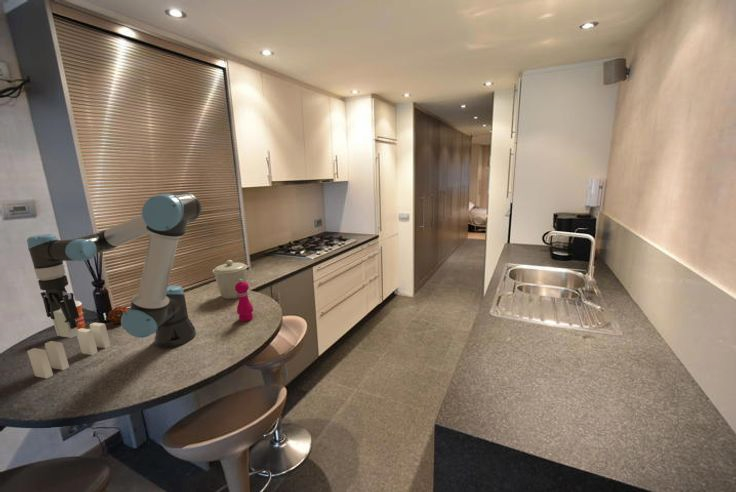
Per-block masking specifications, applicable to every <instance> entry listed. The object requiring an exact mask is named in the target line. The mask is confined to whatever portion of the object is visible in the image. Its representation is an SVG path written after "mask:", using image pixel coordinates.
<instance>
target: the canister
mask: <svg viewBox="0 0 736 492" xmlns="http://www.w3.org/2000/svg"><path fill="white" fill-rule="evenodd" d="M247 268H248V265H247V264H245V263H243V262H234V261H233V260H232V259H228V260H226V262H225V263H223V264H220V265H218V266H216V267H215V268H214V269H213V270H212V273H213V274H214V278H215V280H216V284H217V288H218V291H219V293H220V296H221V297H222V299H226V300H233V299H239V297H238V296H237V291H236V290H235V285H236V284H237V283H238V282H239V279H243V282H246V283H248V281H247V272H248V271H247Z"/></svg>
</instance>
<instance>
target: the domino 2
mask: <svg viewBox="0 0 736 492" xmlns="http://www.w3.org/2000/svg"><path fill="white" fill-rule="evenodd" d="M53 314H54V317H55V321H56V324H57V328H58V331H59V337H63V338H69V339H71V338H70V337H69V334H68V330H67V327H66V323H65V322H64V321H66V318H65V316H64V314H63V312H62V310H60V309H59V310H57V311H54V312H53Z"/></svg>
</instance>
